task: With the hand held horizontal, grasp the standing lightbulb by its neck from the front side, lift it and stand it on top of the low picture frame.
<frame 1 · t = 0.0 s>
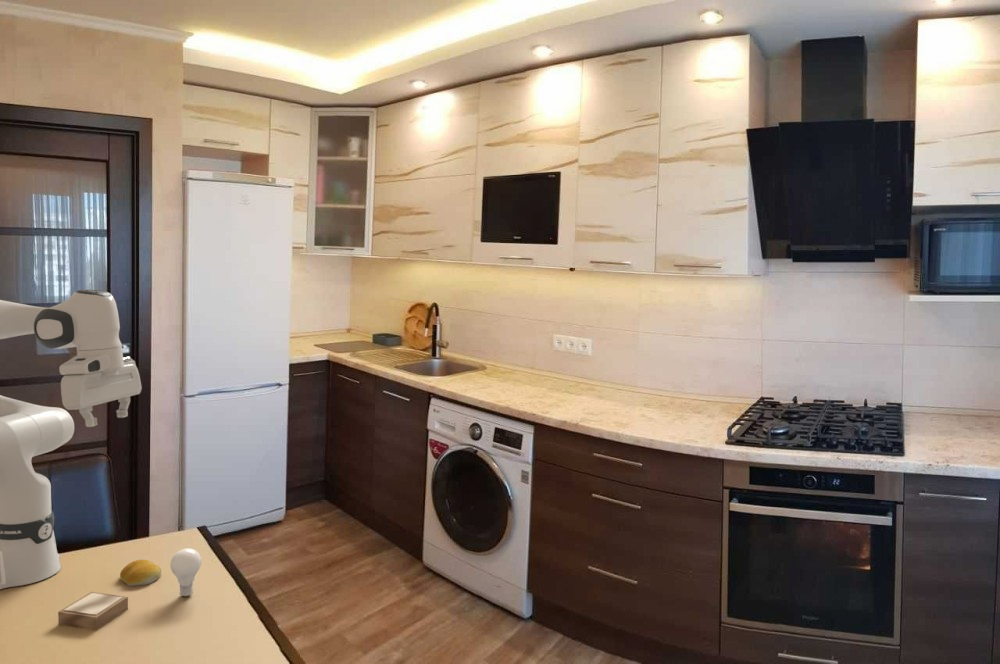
hand: (107, 421, 156), 39 cm above the table, tool pointing down, fingers open, 8 cm apart
bread roll: (140, 579, 164), on the table
lightbulb: (186, 596, 157), on the table
picture frame: (94, 616, 146), on the table
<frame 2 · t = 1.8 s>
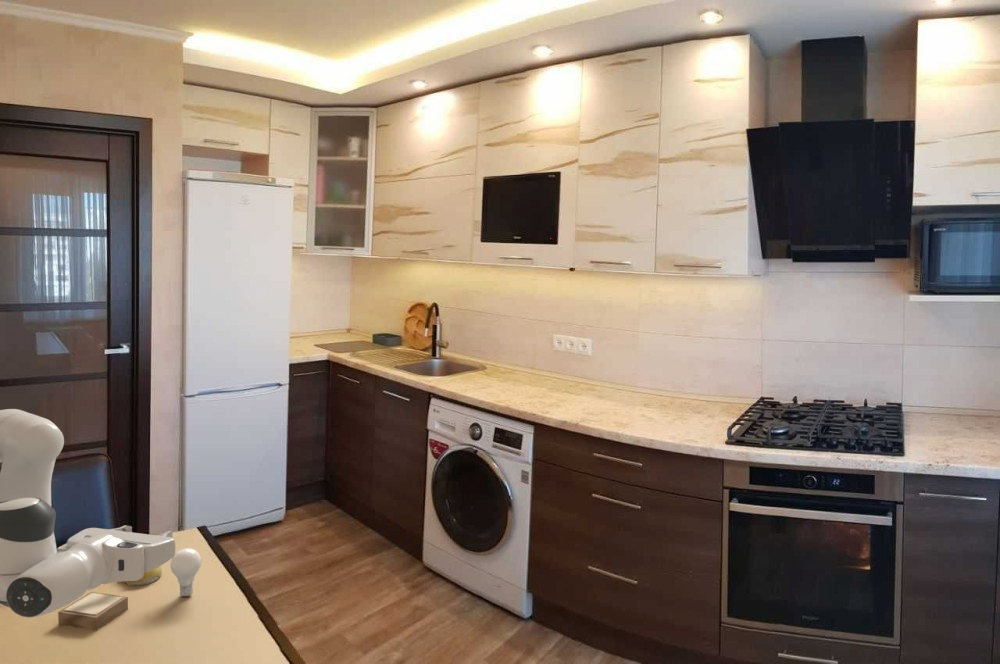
hand: (149, 531, 143), 20 cm above the table, tool horizontal, fingers open, 8 cm apart
nothing on the table moved.
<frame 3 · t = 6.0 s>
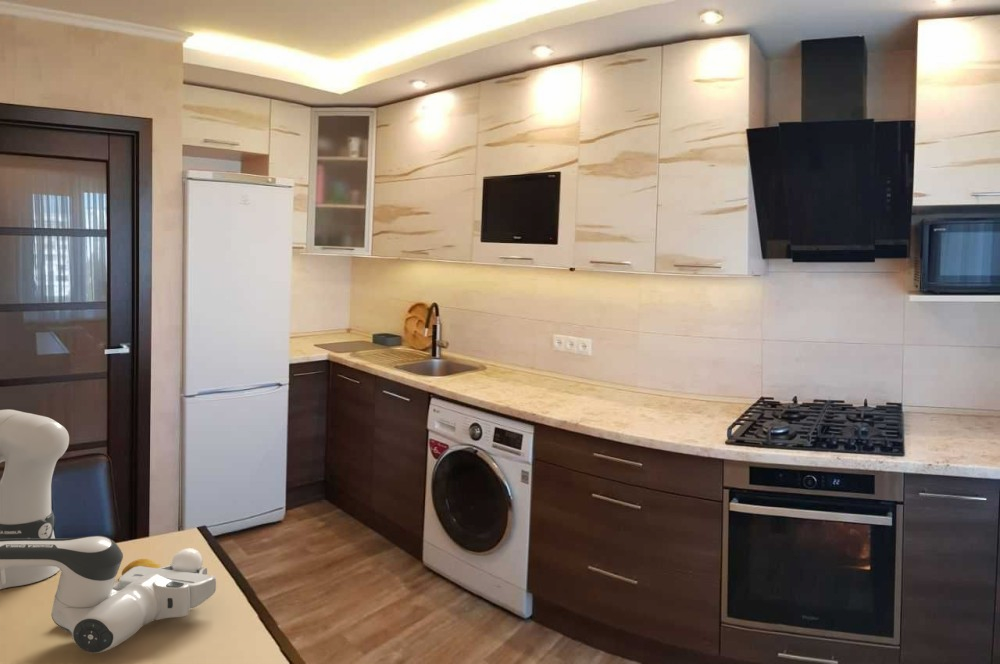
hand: (189, 568, 157), 6 cm above the table, tool horizontal, fingers closed on lightbulb, 6 cm apart
lightbulb: (186, 596, 157), on the table, touching gripper
everything else where it was.
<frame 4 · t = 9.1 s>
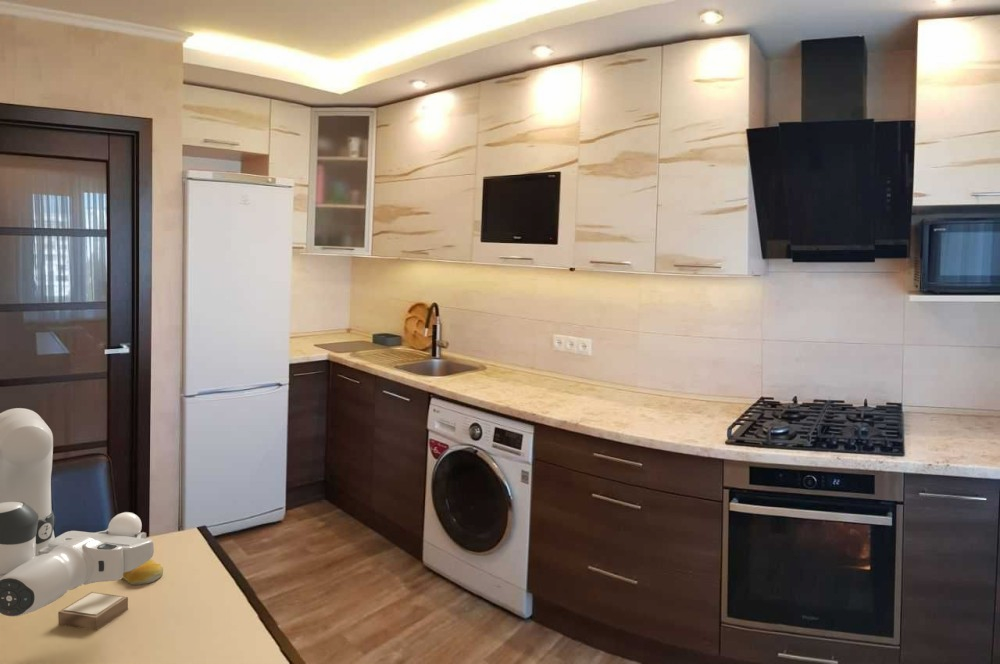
hand: (128, 533, 148), 17 cm above the table, tool horizontal, fingers closed on lightbulb, 6 cm apart
lightbulb: (124, 563, 148), point 11 cm above the table, touching gripper
everything else where it was.
when the fingers open (10 cm above the table, at t = 11.9 s): lightbulb stays where it is, resting on picture frame.
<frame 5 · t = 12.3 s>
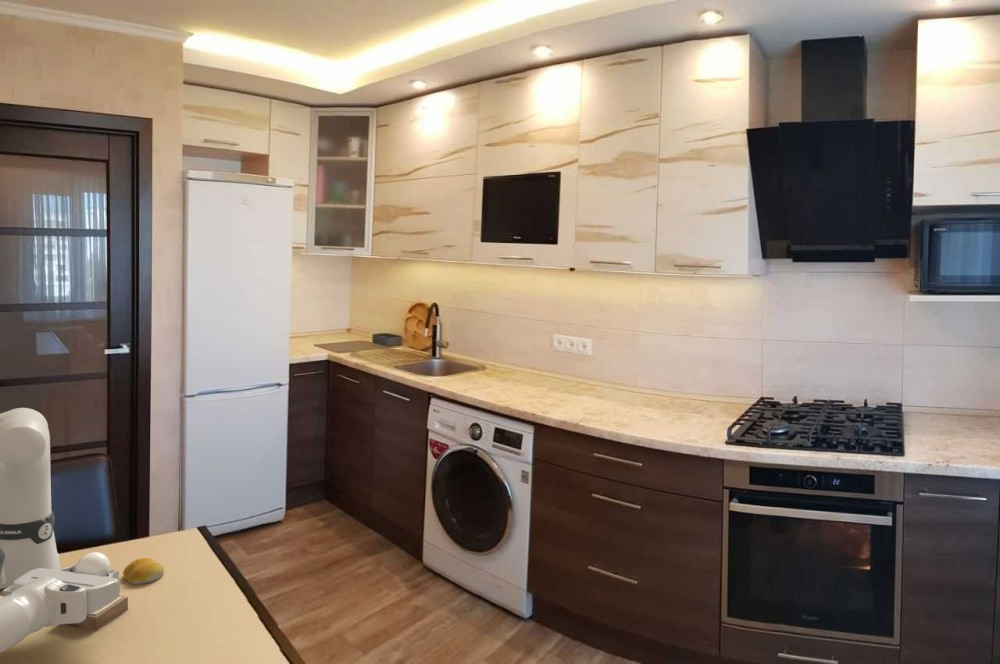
hand: (96, 570, 146), 10 cm above the table, tool horizontal, fingers open, 8 cm apart
lightbulb: (92, 603, 146), point 3 cm above the table, touching picture frame
everything else where it was.
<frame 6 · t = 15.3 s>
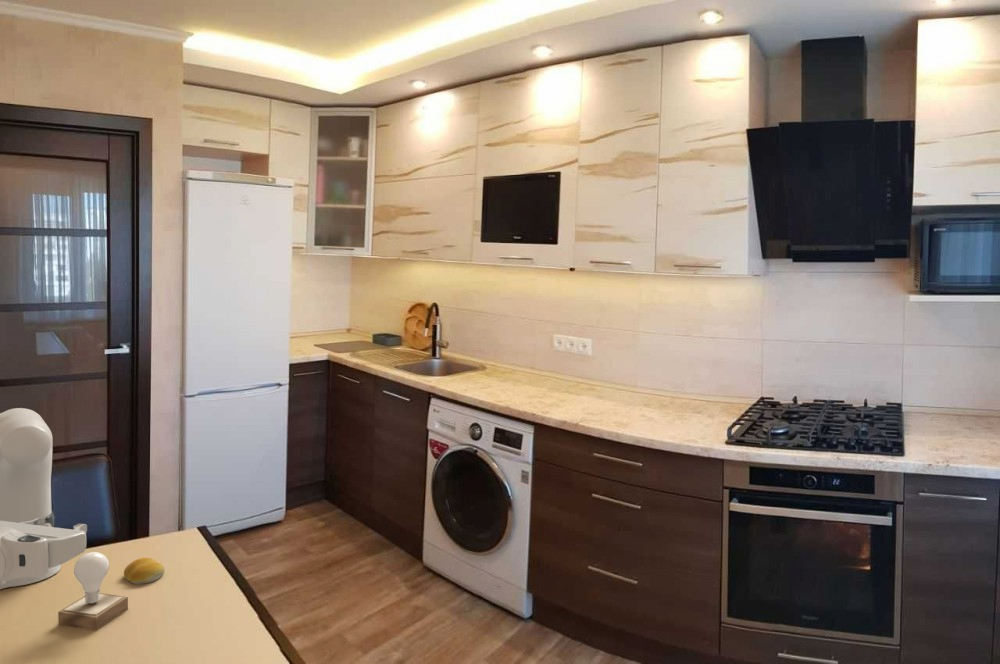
hand: (62, 524, 134), 24 cm above the table, tool horizontal, fingers open, 8 cm apart
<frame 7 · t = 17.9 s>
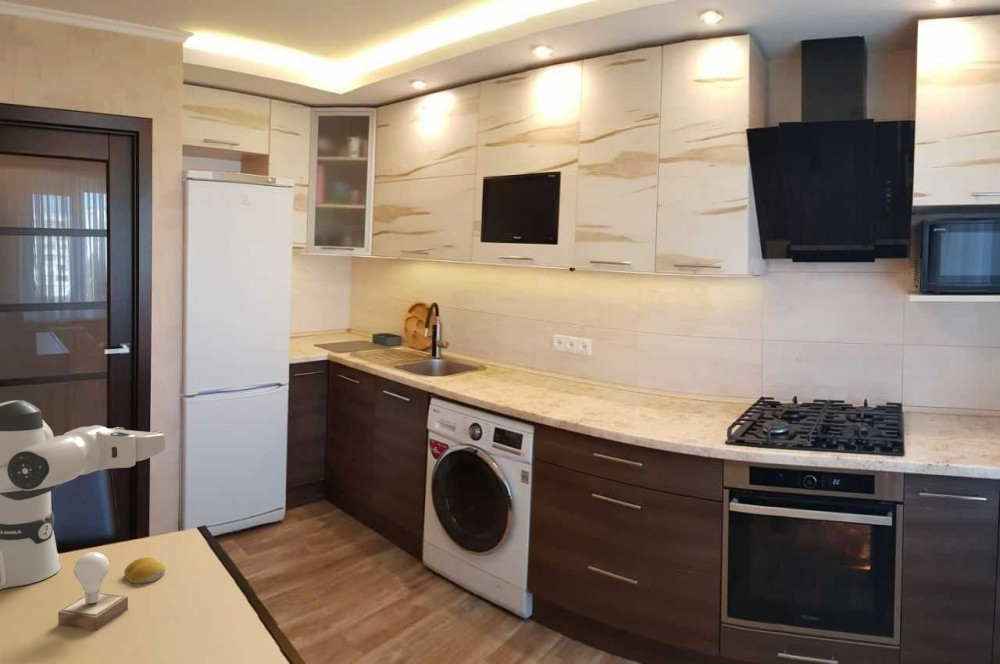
hand: (140, 432, 151), 38 cm above the table, tool horizontal, fingers open, 8 cm apart
at the end: lightbulb inside the target area on the picture frame (0.3 cm from its centre), point 2.8 cm above the picture frame's base; lightbulb tilted 0°; the gripper is holding nothing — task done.
